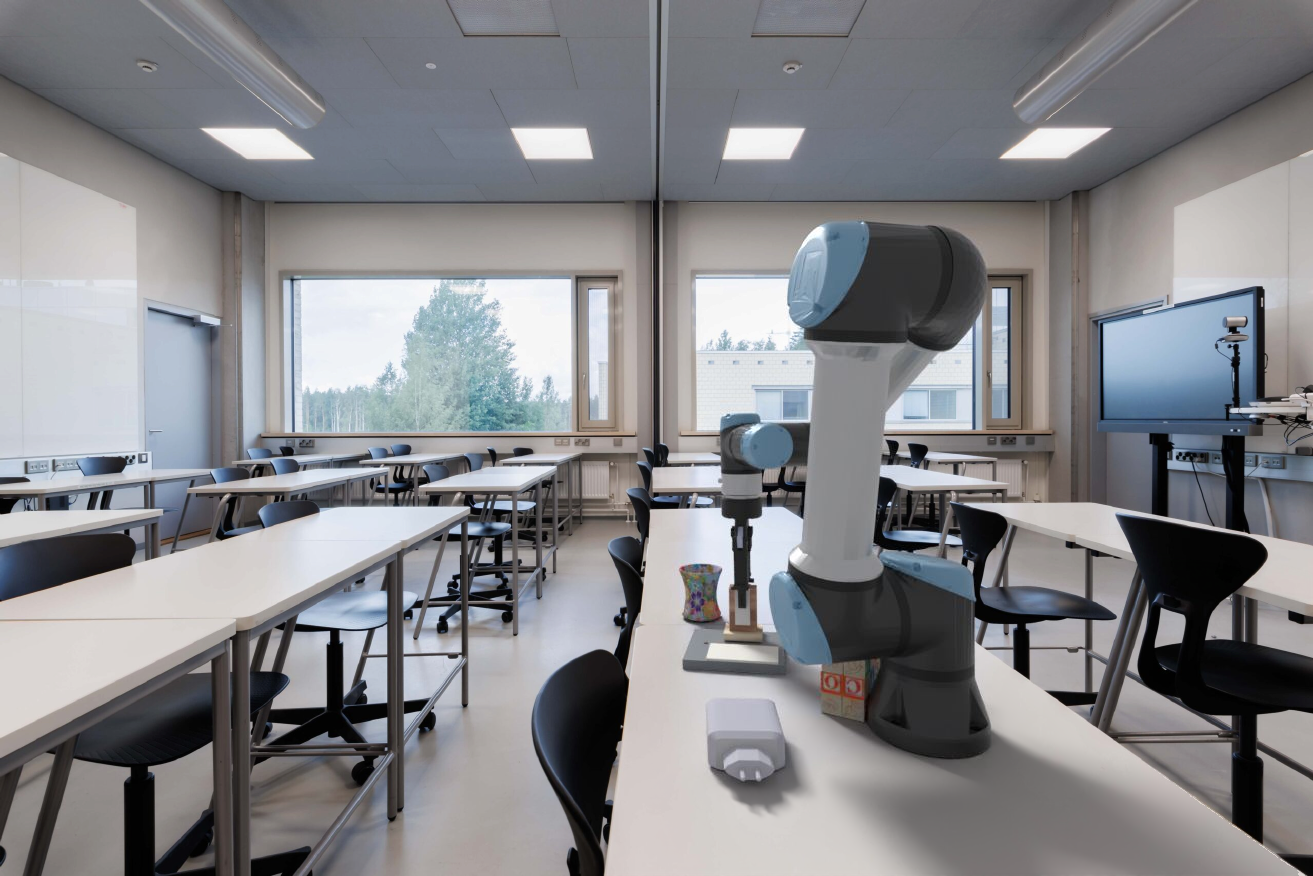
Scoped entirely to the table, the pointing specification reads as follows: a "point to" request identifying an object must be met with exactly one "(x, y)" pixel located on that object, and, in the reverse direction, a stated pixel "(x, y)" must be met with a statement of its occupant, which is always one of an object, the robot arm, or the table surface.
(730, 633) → the stub
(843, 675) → the stack of blocks
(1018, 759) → the table surface
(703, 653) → the board
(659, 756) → the table surface
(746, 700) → the charger
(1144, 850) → the table surface
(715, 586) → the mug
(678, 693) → the table surface
